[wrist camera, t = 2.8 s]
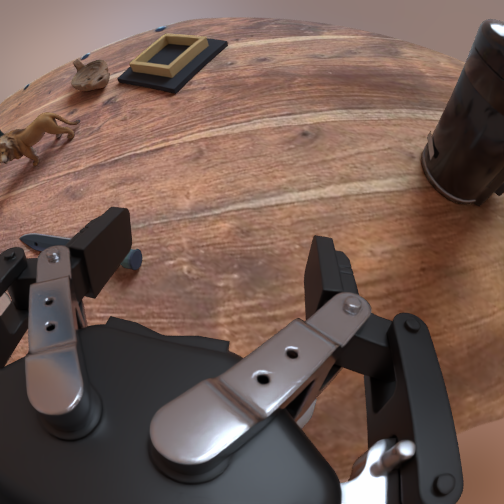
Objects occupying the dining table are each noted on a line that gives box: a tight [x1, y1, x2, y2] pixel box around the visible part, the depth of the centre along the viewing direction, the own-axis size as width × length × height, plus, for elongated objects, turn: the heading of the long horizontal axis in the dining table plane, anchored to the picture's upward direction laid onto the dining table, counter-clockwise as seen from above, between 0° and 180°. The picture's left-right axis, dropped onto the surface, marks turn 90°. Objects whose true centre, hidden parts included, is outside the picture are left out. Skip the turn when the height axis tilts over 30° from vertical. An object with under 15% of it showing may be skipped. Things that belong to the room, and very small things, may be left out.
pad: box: [118, 34, 228, 94], centre depth 41 cm, size 14×14×3 cm
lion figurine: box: [0, 112, 80, 166], centre depth 36 cm, size 15×5×9 cm, turn 124°
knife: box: [19, 233, 142, 270], centre depth 32 cm, size 23×2×5 cm
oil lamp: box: [71, 59, 110, 91], centre depth 42 cm, size 13×8×5 cm, turn 43°
